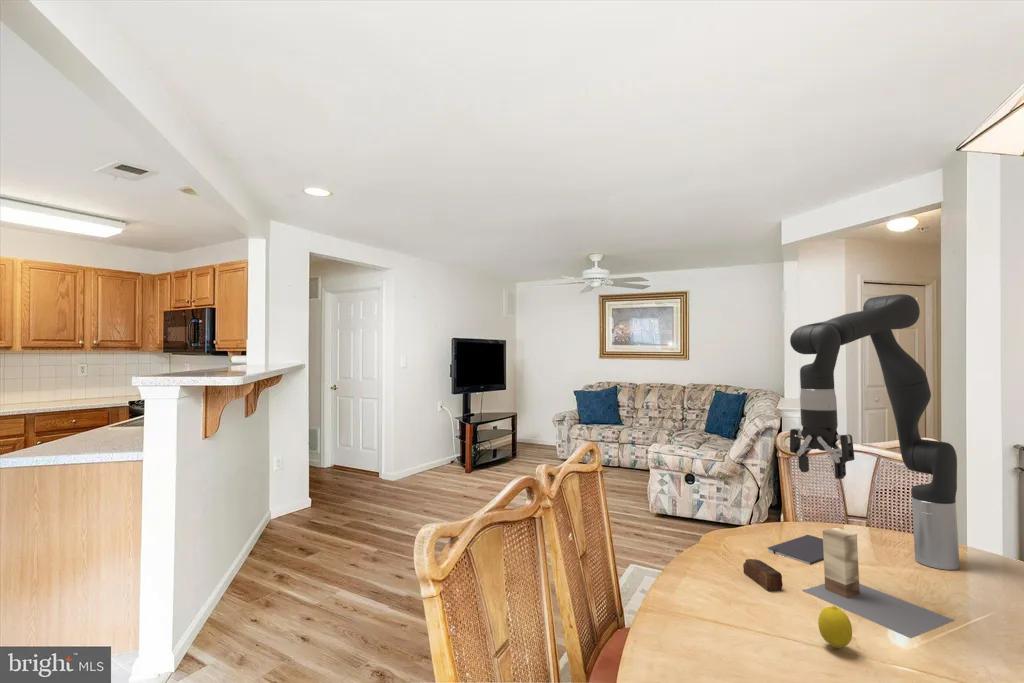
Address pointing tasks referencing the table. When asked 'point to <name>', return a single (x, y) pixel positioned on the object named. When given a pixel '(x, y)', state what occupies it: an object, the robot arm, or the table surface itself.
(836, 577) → the tall block
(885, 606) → the rubber mat
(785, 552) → the notebook
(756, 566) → the brick
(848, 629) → the lemon
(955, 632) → the table surface
